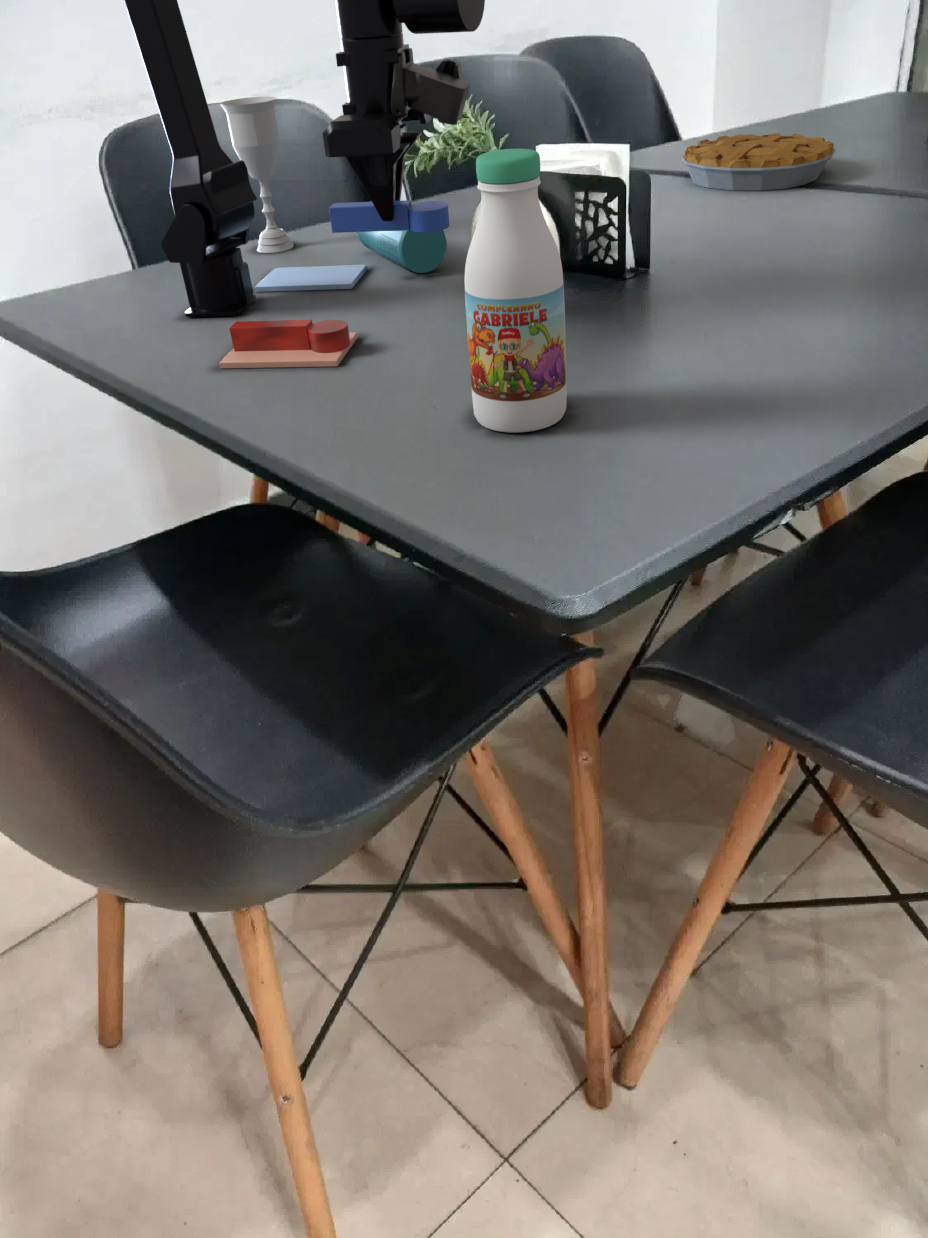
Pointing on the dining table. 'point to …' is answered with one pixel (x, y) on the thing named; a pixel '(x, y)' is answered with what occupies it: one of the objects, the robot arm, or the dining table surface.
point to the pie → (757, 161)
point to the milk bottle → (514, 300)
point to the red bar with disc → (290, 335)
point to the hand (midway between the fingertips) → (390, 217)
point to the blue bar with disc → (405, 218)
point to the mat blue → (311, 278)
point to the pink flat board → (284, 358)
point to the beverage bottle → (408, 248)
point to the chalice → (258, 156)
